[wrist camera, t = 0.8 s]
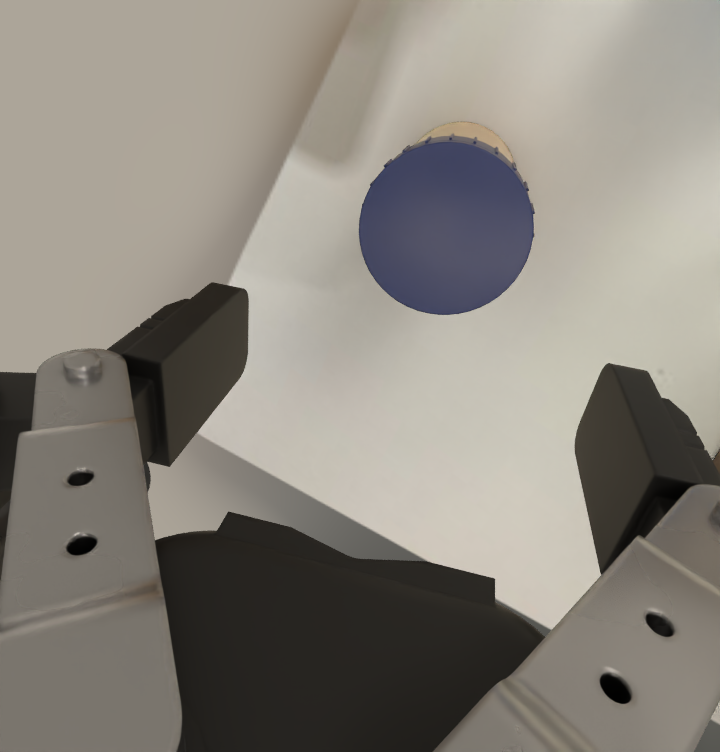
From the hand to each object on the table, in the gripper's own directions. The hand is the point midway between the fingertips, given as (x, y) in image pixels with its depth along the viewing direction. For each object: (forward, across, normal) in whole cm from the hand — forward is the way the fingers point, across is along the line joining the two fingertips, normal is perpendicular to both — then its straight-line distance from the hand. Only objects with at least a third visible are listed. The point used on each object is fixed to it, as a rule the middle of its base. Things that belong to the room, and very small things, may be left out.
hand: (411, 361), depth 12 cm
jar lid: (+10, 0, 0) cm, 10 cm away
